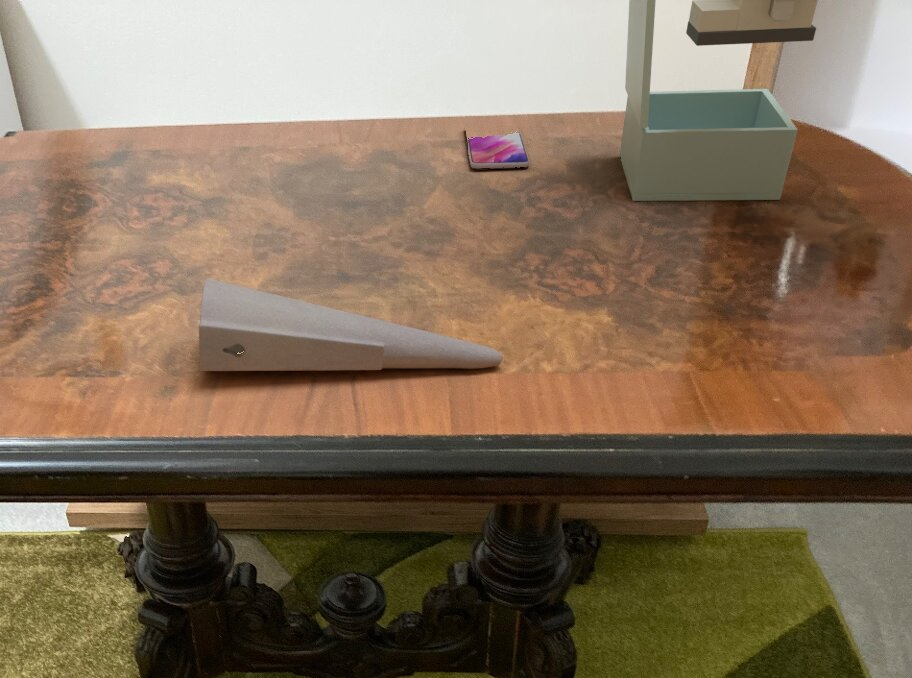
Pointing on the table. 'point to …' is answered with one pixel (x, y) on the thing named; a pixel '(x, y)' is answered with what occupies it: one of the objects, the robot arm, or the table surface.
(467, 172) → the table surface
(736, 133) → the shoebox
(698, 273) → the table surface
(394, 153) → the table surface
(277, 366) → the grey tapered spike
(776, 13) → the robot arm
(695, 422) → the table surface
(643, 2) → the shoebox lid
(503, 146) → the smartphone
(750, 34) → the stepped cream block
